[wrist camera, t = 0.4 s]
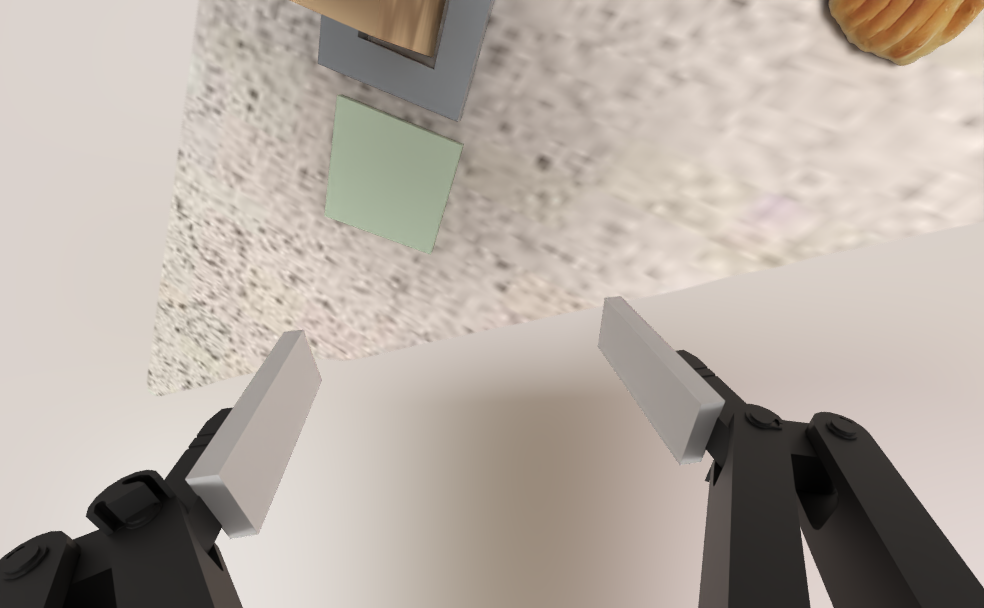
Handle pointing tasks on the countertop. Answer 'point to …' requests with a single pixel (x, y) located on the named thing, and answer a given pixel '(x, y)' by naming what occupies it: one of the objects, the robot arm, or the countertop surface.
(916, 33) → the pastry
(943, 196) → the countertop surface
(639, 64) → the countertop surface
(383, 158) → the rubber pad
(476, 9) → the pocket frame
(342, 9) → the oak peg
